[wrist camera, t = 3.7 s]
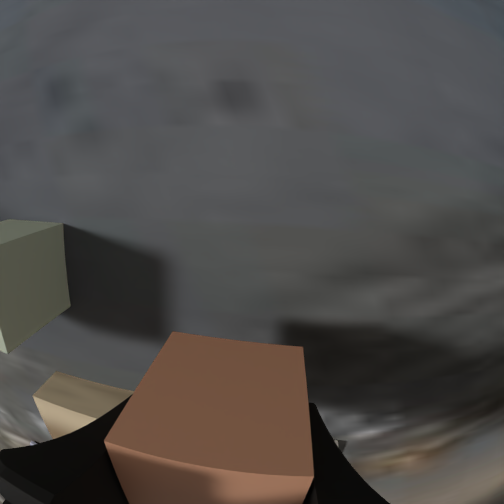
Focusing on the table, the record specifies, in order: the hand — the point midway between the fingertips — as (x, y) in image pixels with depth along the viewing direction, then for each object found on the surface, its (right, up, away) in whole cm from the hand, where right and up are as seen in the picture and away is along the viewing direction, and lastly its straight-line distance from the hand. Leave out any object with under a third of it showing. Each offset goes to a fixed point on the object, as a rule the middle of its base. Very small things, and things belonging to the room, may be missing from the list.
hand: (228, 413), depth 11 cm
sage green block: (-12, +6, +5) cm, 14 cm away
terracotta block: (0, 0, +1) cm, 2 cm away
